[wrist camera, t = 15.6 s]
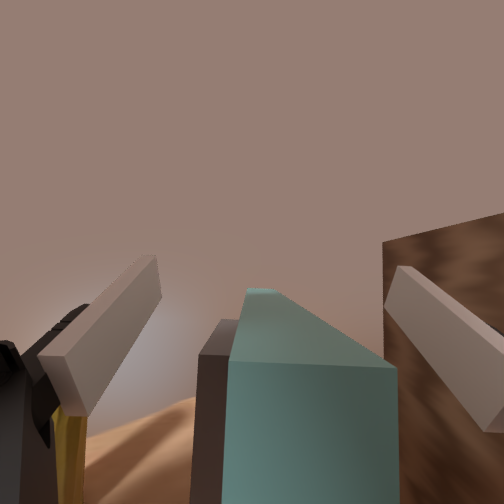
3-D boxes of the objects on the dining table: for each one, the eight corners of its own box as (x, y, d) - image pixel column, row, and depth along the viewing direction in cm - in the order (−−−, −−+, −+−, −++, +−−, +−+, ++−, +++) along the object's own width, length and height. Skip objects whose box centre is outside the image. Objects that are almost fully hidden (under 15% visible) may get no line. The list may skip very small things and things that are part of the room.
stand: (726, 773, 12) (655, 219, 15) (539, 767, 12) (503, 212, 15) (473, 508, 26) (461, 245, 29) (385, 505, 26) (382, 242, 29)
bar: (401, 557, 4) (396, 368, 5) (219, 550, 4) (228, 360, 5) (273, 316, 30) (273, 289, 31) (246, 315, 30) (247, 288, 31)
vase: (30, 496, 26) (47, 361, 27) (93, 487, 27) (105, 359, 28) (-20, 563, 20) (4, 386, 21) (63, 548, 21) (81, 382, 22)
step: (334, 726, 13) (336, 360, 15) (176, 720, 13) (198, 354, 15) (294, 511, 25) (298, 322, 27) (211, 508, 25) (221, 319, 27)
